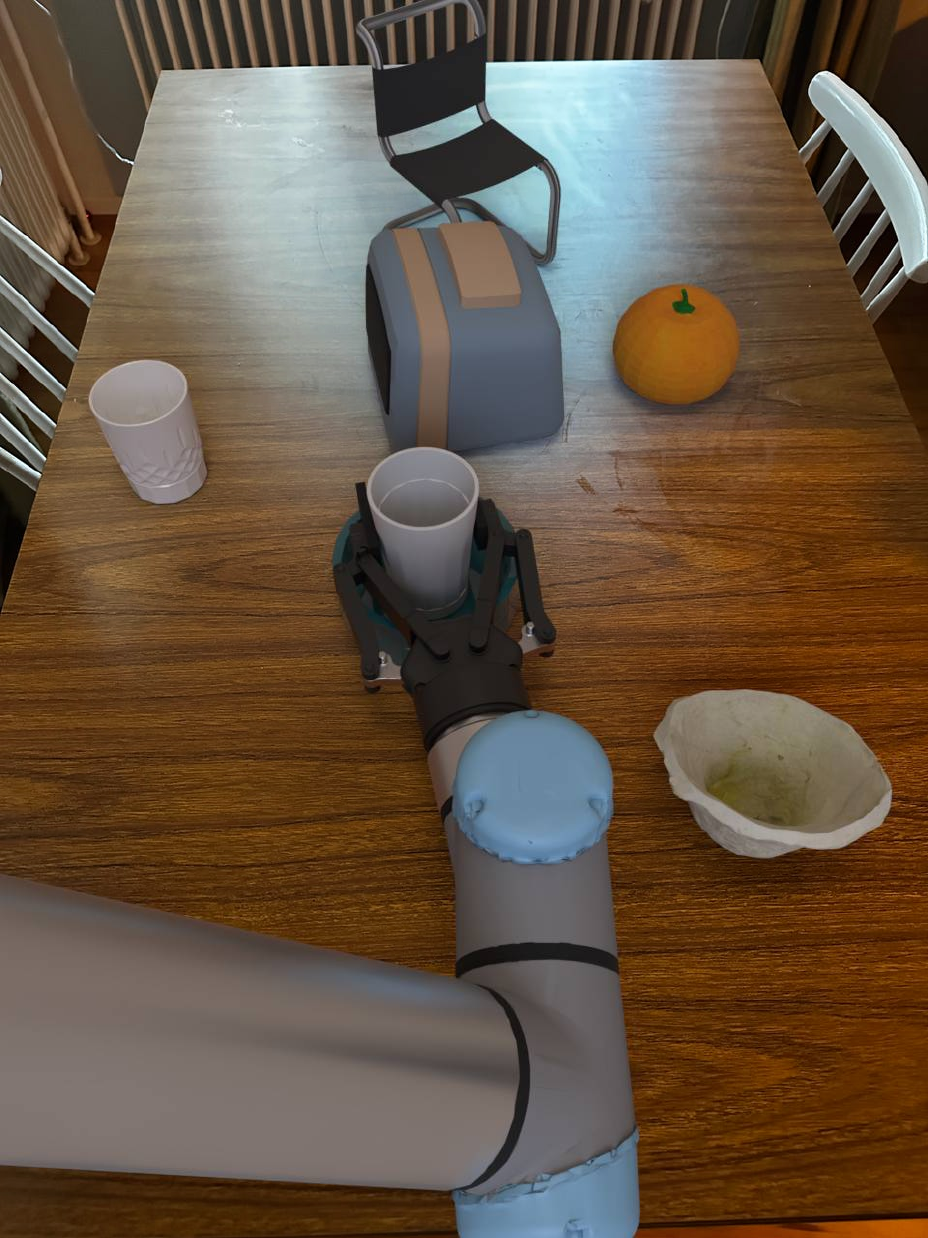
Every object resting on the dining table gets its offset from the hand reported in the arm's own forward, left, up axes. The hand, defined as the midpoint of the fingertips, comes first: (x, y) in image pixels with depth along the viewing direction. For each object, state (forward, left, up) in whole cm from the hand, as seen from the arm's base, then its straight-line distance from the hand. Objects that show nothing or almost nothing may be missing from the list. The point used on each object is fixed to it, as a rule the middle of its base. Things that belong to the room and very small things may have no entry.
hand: (412, 485), depth 74 cm
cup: (0, -5, -7) cm, 9 cm away
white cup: (-20, +13, -8) cm, 25 cm away
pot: (0, -5, -8) cm, 9 cm away
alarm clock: (+8, +17, -8) cm, 20 cm away
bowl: (+18, -28, -8) cm, 34 cm away
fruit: (+28, +15, -8) cm, 33 cm away
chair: (+13, +39, -8) cm, 42 cm away
